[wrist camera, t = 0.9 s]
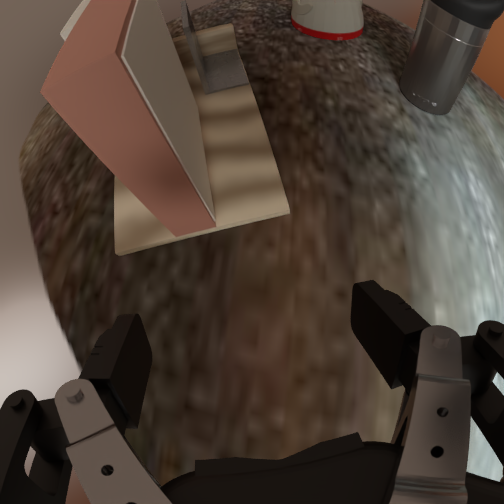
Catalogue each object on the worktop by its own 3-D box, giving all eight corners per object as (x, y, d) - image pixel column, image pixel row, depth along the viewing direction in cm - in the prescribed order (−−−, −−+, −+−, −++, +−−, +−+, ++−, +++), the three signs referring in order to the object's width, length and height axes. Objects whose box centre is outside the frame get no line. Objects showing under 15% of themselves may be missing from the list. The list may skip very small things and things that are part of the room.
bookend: (249, 84, 37) (236, 15, 25) (205, 95, 37) (182, 28, 26) (237, 50, 40) (224, -9, 28) (199, 59, 40) (180, 1, 29)
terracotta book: (217, 226, 31) (117, 50, 10) (175, 237, 31) (40, 92, 10) (198, 108, 36) (145, -32, 15) (166, 118, 36) (100, -13, 16)
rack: (289, 213, 31) (289, 186, 26) (119, 255, 32) (90, 239, 27) (237, 50, 41) (231, 23, 35) (126, 84, 42) (112, 60, 36)
